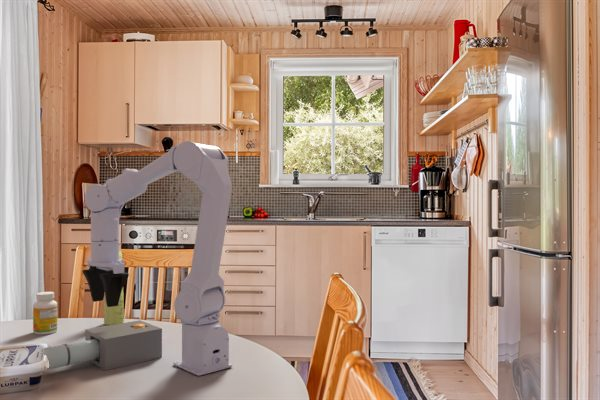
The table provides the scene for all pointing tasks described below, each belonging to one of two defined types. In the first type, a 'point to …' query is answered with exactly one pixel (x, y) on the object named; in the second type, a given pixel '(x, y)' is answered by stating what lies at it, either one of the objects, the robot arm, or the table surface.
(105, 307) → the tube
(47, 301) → the supplement bottle
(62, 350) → the cylinder
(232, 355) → the table surface
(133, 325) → the plunger
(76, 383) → the table surface
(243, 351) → the table surface
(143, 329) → the housing
